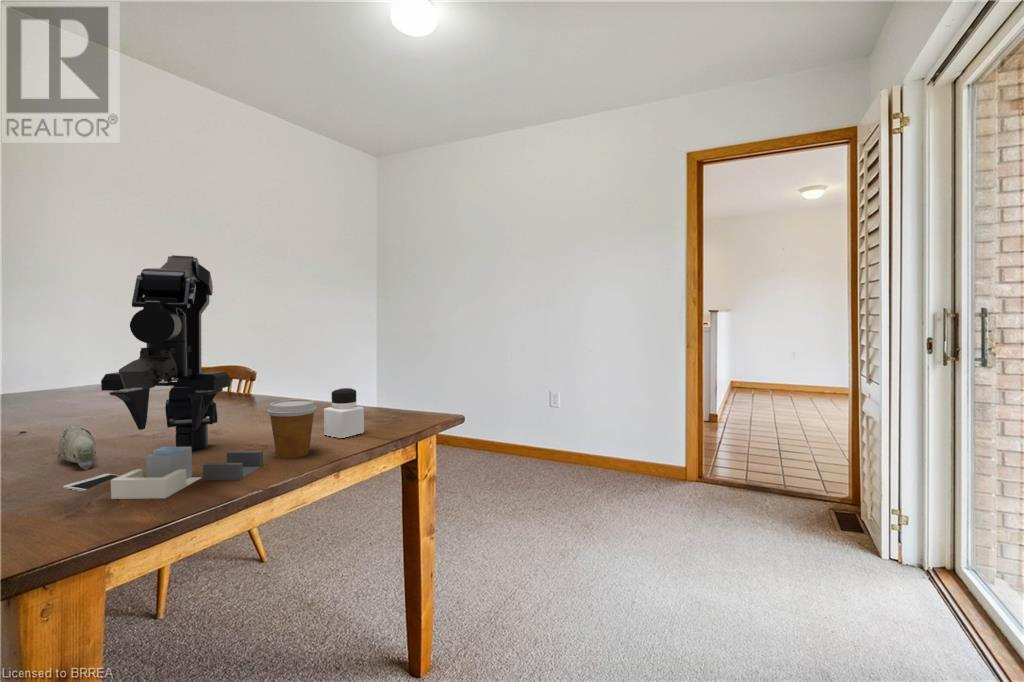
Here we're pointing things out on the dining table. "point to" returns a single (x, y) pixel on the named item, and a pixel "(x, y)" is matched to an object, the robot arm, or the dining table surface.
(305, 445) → the disposable coffee cup
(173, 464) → the plug
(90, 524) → the dining table surface
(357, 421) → the medicine bottle
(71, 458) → the decorative bird
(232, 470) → the holster
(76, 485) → the smartphone
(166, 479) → the port
